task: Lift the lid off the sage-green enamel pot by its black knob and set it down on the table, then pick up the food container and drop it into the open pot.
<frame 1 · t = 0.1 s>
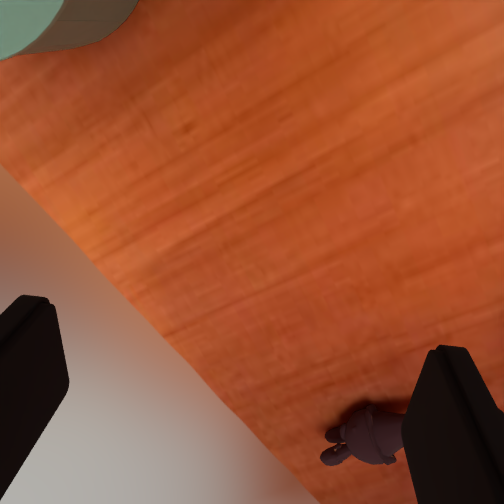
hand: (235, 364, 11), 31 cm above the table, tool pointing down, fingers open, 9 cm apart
icecream: (371, 411, 55), on the table
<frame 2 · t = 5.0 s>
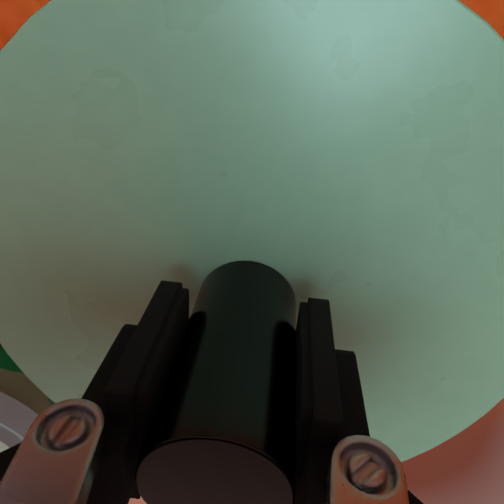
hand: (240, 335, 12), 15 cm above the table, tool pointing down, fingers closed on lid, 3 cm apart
lid: (249, 290, 13), point 13 cm above the table, touching gripper, pot
food container: (74, 347, 33), on the table
when the fingers open (3 cm above the table, at t = 15.8 s): lid stays where it is, point 1 cm above the table.
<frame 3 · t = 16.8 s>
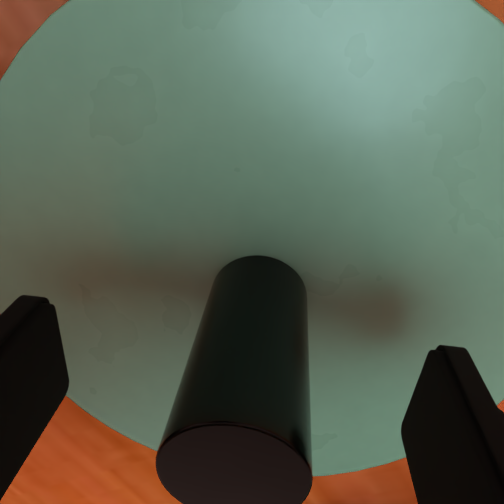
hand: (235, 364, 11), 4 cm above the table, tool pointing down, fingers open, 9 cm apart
lid: (260, 285, 14), point 1 cm above the table
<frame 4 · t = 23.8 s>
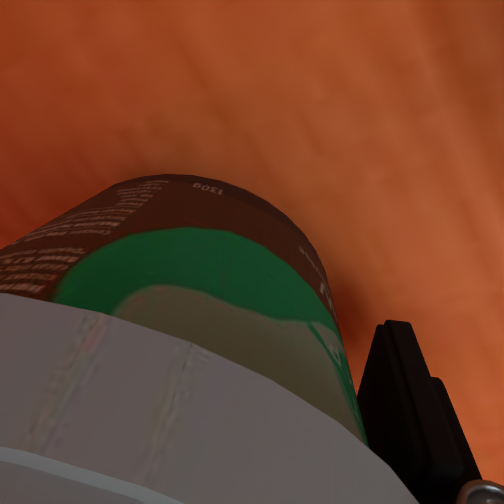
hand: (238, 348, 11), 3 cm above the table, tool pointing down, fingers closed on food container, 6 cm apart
food container: (268, 282, 14), on the table, touching gripper
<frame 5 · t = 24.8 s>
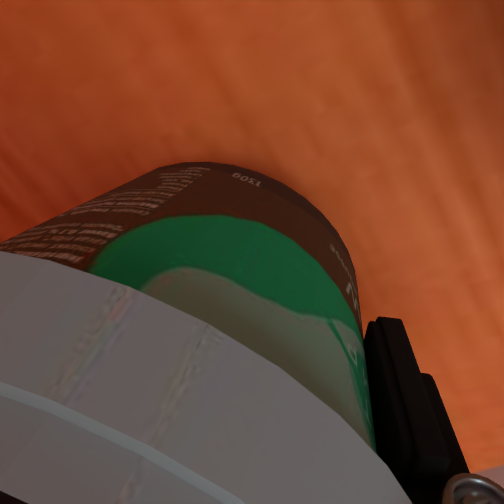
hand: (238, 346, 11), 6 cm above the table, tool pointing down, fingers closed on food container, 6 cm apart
food container: (297, 276, 14), point 2 cm above the table, touching gripper
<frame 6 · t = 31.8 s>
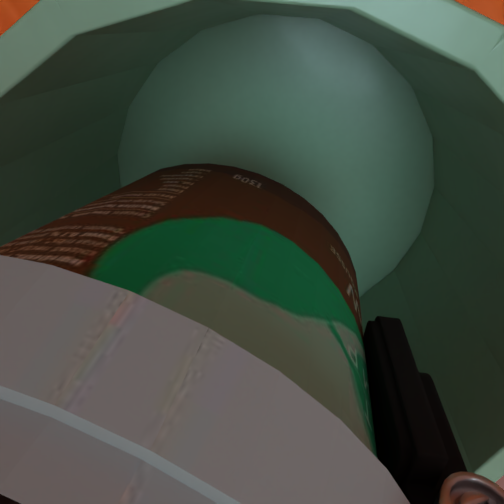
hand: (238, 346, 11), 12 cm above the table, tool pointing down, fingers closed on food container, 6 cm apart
pot: (271, 189, 22), on the table
food container: (298, 277, 14), point 9 cm above the table, touching gripper
when the fingers open (12 cm above the table, at t = 31.9 s): food container drops 9 cm, resting on pot.
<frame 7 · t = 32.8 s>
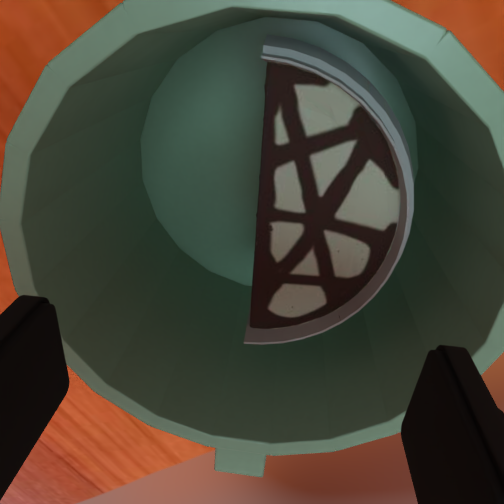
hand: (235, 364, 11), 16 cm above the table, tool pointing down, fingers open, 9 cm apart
pot: (275, 171, 25), on the table
food container: (322, 156, 24), resting on pot
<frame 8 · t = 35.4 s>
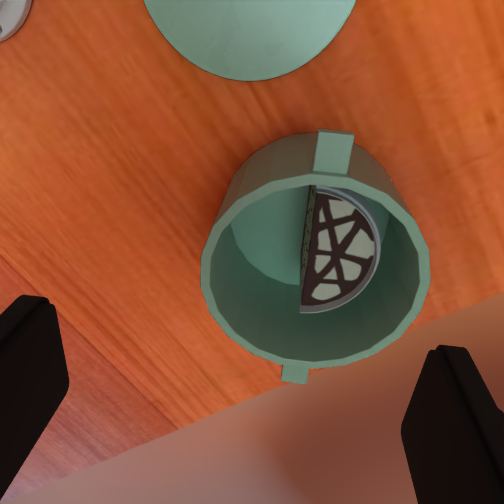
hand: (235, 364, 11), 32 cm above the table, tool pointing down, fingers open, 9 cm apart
pot: (307, 218, 43), on the table
food container: (335, 210, 42), resting on pot
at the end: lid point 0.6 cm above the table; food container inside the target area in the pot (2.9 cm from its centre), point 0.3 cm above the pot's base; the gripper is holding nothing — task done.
